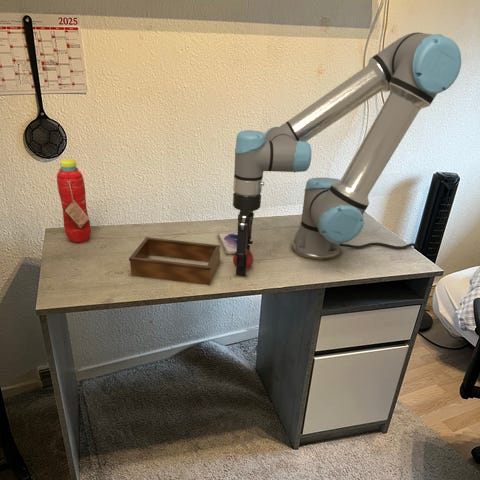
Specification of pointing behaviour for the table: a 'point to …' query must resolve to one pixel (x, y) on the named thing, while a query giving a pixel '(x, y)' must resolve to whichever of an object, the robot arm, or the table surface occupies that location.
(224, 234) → the smartphone
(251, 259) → the pomegranate
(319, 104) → the robot arm
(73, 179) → the water bottle
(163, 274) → the wooden box frame
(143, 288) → the table surface
